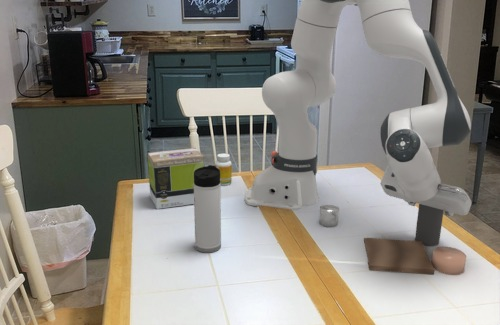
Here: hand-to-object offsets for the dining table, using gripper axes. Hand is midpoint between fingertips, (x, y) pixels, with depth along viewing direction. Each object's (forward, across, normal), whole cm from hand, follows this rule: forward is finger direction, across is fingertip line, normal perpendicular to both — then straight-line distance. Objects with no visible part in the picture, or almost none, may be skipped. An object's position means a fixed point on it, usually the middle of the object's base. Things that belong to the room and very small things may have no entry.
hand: (431, 208), depth 126 cm
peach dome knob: (0, -9, +13) cm, 16 cm away
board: (-3, +2, +16) cm, 16 cm away
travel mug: (-22, +39, +34) cm, 56 cm away
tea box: (-11, +67, +24) cm, 72 cm away
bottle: (+6, 0, +6) cm, 9 cm away
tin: (0, +24, +13) cm, 27 cm away
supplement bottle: (+3, +67, +9) cm, 68 cm away
